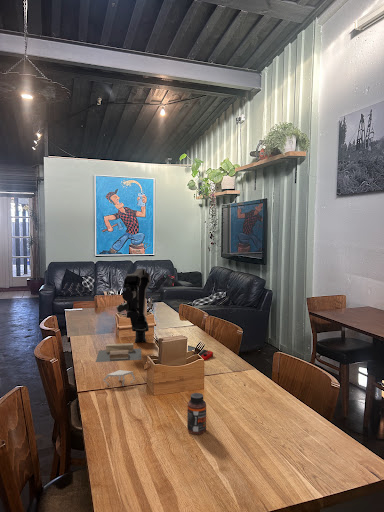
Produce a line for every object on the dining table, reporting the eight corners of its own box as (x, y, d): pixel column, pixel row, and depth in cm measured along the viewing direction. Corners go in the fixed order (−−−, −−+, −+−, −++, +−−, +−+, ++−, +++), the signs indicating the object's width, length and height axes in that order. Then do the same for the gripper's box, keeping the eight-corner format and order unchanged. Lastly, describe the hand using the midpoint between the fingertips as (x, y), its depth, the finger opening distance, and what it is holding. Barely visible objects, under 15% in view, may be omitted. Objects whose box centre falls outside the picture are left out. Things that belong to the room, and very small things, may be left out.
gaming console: (159, 346, 198) (171, 340, 205) (160, 354, 199) (172, 347, 206) (202, 357, 179) (214, 349, 186) (203, 365, 180) (215, 356, 187)
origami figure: (127, 377, 159) (127, 366, 159) (135, 384, 152) (135, 372, 152) (100, 383, 153) (100, 372, 152) (108, 391, 146) (107, 378, 146)
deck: (109, 354, 181) (109, 359, 181) (128, 353, 182) (128, 358, 182) (110, 350, 187) (110, 355, 187) (128, 350, 188) (128, 354, 188)
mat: (99, 351, 195) (99, 350, 195) (140, 349, 199) (140, 348, 199) (95, 362, 178) (95, 362, 178) (141, 360, 181) (141, 359, 181)
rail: (106, 351, 194) (106, 344, 194) (133, 350, 197) (133, 343, 196) (106, 353, 191) (106, 346, 191) (133, 352, 194) (133, 344, 193)
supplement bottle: (200, 437, 112) (200, 401, 112) (183, 431, 115) (183, 396, 115) (209, 428, 117) (209, 393, 117) (193, 423, 120) (193, 389, 120)
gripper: (118, 295, 203) (118, 323, 204) (116, 301, 185) (116, 332, 186) (138, 295, 205) (138, 322, 206) (138, 300, 187) (139, 331, 188)
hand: (133, 327), depth 196 cm, fingers closed
